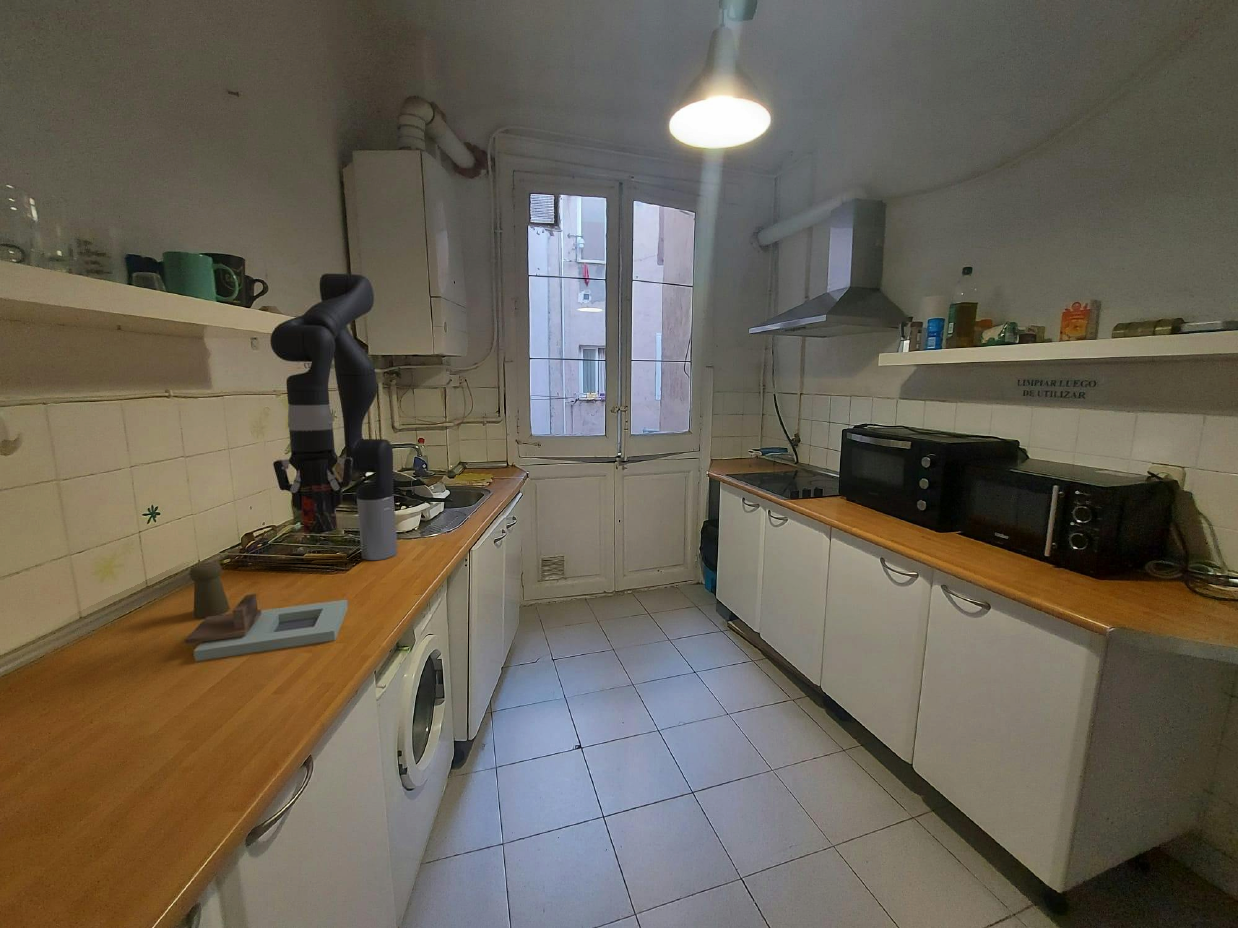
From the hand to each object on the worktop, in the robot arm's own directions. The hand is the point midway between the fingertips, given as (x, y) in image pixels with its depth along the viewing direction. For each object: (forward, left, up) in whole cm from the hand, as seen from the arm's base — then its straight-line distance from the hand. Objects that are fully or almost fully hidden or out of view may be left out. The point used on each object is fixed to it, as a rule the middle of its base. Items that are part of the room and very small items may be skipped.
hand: (318, 508), depth 100 cm
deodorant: (0, 0, -5) cm, 5 cm away
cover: (+6, -16, -21) cm, 27 cm away
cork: (-8, -24, -24) cm, 34 cm away
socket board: (+6, -8, -23) cm, 25 cm away
